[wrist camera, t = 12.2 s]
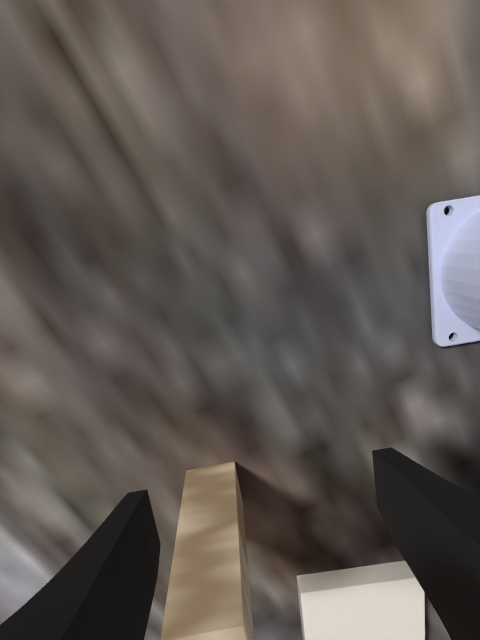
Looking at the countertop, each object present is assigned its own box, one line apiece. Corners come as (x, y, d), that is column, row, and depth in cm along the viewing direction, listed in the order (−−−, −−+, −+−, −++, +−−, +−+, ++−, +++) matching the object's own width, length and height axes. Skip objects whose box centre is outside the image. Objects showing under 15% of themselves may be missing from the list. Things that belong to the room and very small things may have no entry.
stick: (234, 461, 23) (243, 625, 13) (242, 503, 24) (257, 688, 14) (186, 470, 23) (160, 641, 13) (196, 512, 24) (178, 703, 14)
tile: (424, 576, 24) (425, 672, 26) (410, 553, 26) (412, 644, 28) (300, 593, 24) (310, 688, 26) (295, 568, 26) (304, 659, 27)
